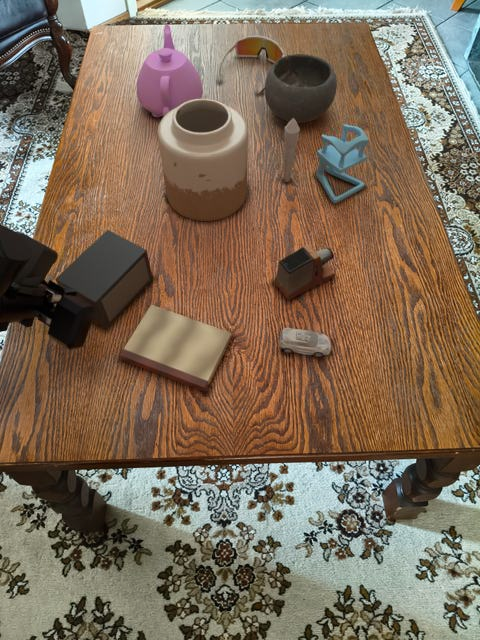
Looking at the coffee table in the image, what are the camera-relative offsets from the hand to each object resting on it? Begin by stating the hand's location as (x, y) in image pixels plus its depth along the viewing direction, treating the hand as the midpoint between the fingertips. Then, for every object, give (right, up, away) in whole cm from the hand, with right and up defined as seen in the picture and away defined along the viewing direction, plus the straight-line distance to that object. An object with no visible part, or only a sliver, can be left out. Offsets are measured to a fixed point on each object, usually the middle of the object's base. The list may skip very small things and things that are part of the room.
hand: (74, 293), depth 75 cm
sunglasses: (+27, +54, +44) cm, 75 cm away
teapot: (+9, +44, +38) cm, 59 cm away
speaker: (+3, +1, +9) cm, 9 cm away
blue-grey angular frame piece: (+43, +22, +24) cm, 54 cm away
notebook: (+15, -8, +3) cm, 17 cm away
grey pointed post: (+34, +23, +24) cm, 47 cm away
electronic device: (+35, +3, +11) cm, 37 cm away
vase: (+18, +20, +22) cm, 35 cm away
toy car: (+35, -8, +4) cm, 36 cm away
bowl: (+37, +41, +36) cm, 66 cm away
